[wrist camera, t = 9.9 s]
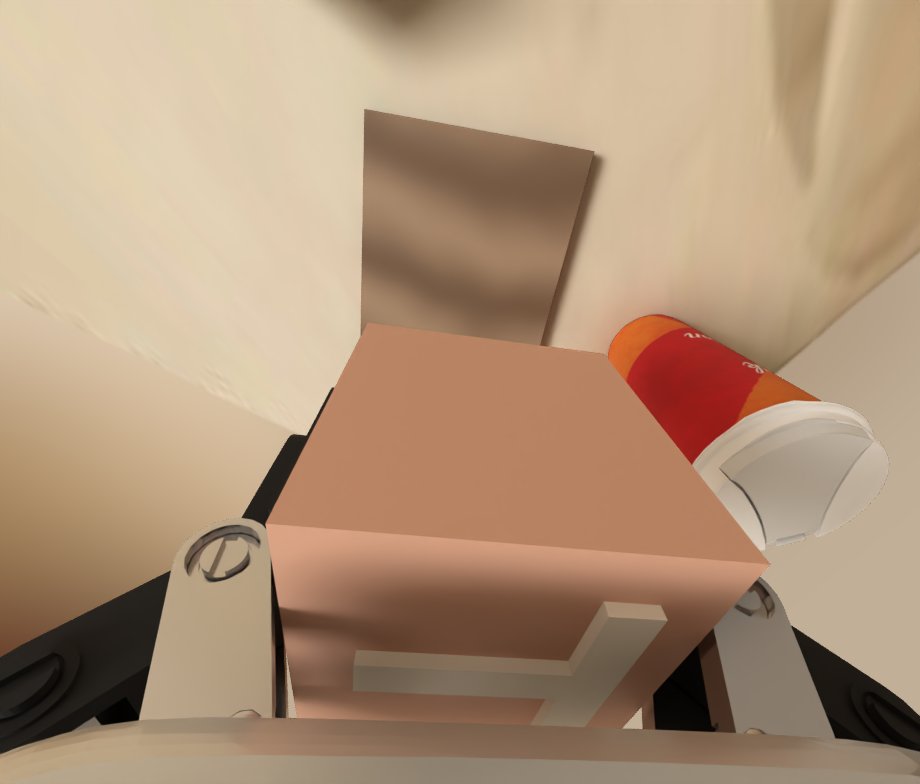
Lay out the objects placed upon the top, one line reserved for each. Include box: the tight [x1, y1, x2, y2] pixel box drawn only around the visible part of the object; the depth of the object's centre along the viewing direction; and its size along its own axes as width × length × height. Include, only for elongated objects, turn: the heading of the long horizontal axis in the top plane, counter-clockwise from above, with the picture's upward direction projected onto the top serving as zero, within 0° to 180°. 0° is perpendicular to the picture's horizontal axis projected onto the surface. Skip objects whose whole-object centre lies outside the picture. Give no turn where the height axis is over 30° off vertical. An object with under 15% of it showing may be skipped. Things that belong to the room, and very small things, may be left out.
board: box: [361, 109, 594, 345], centre depth 24 cm, size 16×12×1 cm
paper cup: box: [608, 315, 889, 550], centre depth 22 cm, size 8×8×14 cm
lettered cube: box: [266, 323, 770, 728], centre depth 8 cm, size 6×6×6 cm
